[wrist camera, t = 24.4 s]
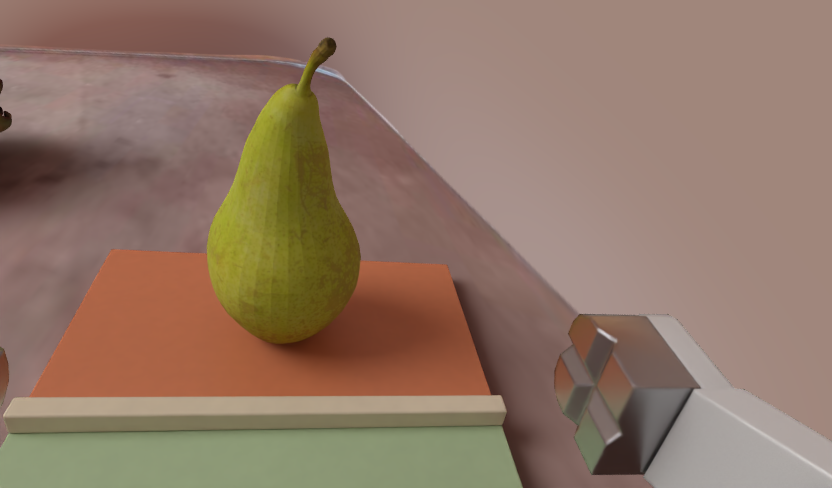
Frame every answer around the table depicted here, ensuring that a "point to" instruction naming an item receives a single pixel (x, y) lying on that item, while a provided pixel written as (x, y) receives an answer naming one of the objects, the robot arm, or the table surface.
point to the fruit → (284, 224)
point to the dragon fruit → (4, 121)
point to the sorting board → (259, 391)
